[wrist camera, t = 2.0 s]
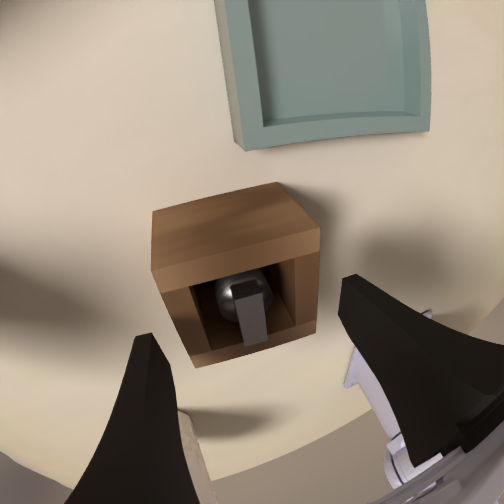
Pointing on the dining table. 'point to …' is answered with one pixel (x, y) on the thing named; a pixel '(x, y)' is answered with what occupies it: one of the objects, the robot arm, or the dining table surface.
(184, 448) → the white cup
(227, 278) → the dark grey rounded piece
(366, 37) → the tray
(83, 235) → the dining table surface
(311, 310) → the collar
